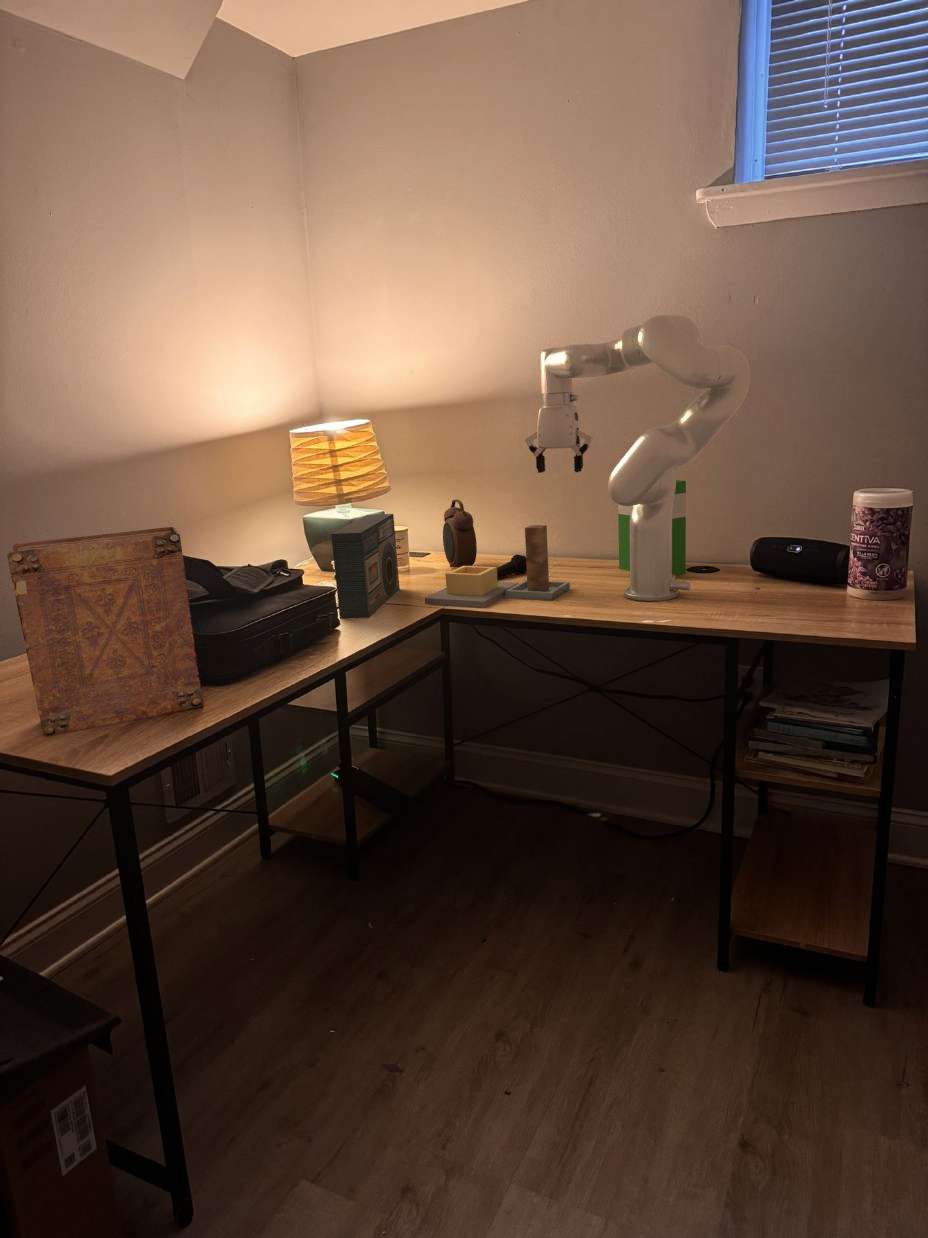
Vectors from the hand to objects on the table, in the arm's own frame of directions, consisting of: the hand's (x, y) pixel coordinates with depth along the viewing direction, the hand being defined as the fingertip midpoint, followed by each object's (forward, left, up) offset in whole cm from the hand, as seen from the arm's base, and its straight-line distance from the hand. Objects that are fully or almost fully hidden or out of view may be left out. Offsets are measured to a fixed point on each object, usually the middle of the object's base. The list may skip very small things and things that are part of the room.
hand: (559, 471), depth 214 cm
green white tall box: (-18, -18, -29) cm, 38 cm away
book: (+38, +108, -29) cm, 118 cm away
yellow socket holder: (+17, +18, -28) cm, 38 cm away
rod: (+2, +12, -28) cm, 30 cm away
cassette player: (+39, +30, -29) cm, 57 cm away
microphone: (+19, -3, -29) cm, 35 cm away
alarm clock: (+35, -10, -28) cm, 46 cm away
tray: (+2, +12, -28) cm, 31 cm away
